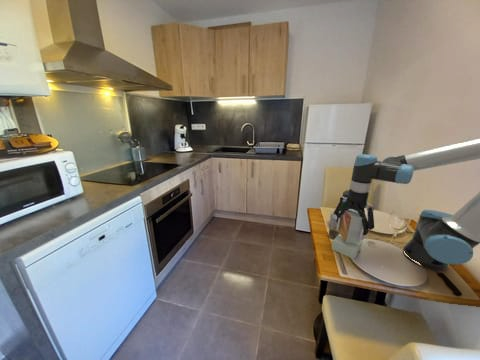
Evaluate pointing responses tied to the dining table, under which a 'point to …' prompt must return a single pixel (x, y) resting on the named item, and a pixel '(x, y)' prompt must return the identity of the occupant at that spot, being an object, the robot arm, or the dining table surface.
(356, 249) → the pedestal
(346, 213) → the small box
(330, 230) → the walnut cube
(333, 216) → the lumpy-topped squat cylinder
